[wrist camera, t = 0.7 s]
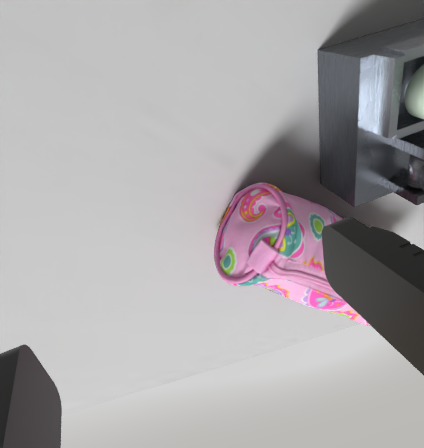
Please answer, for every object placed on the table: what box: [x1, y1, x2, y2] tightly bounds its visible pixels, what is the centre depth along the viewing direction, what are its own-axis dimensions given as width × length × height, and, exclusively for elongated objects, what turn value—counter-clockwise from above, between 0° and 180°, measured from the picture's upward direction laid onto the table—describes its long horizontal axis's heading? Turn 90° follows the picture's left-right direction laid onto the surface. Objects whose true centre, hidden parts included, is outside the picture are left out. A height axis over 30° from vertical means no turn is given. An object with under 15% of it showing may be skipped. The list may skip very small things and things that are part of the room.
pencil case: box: [214, 183, 371, 326], centre depth 35 cm, size 21×9×9 cm, turn 56°
